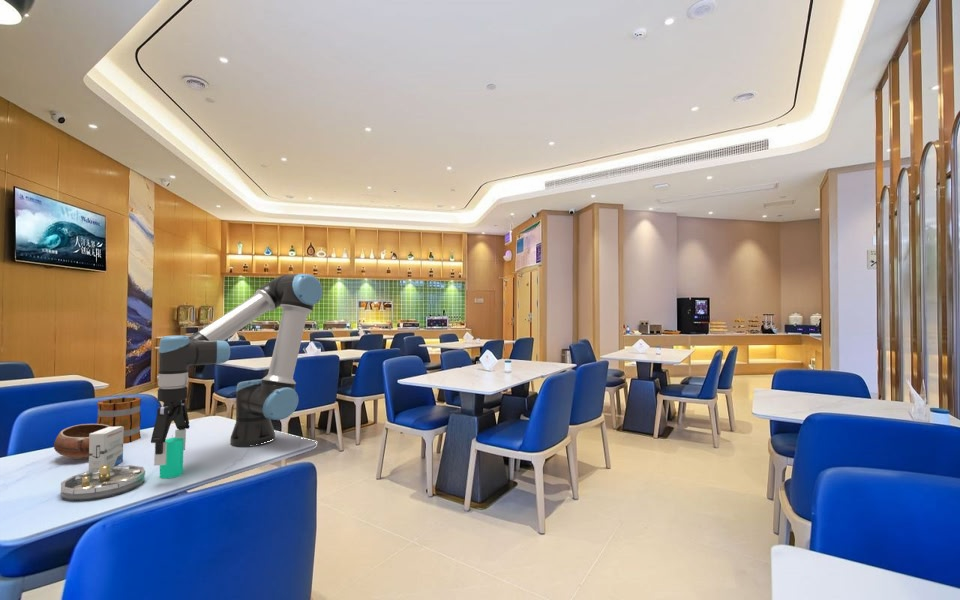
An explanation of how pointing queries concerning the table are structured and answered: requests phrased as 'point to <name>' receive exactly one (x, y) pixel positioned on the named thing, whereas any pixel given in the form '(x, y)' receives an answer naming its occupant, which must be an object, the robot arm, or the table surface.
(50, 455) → the table surface
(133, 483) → the carrier
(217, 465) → the table surface
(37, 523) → the table surface
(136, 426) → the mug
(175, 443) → the candle
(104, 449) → the ink box
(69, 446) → the bowl
